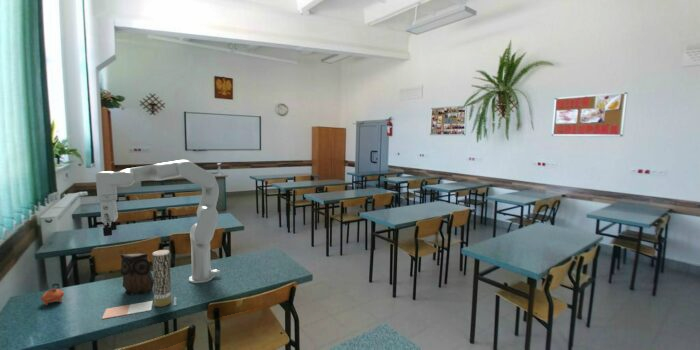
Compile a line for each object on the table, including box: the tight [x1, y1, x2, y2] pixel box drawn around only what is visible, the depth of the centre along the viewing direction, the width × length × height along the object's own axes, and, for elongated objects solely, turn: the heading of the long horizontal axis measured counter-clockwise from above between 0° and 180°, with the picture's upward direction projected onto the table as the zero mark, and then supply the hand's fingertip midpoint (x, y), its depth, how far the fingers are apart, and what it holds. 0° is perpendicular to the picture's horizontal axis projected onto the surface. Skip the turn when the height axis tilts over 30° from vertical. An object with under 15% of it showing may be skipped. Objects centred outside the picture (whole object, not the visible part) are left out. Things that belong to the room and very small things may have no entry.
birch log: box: [151, 249, 172, 308], centre depth 153 cm, size 7×7×25 cm
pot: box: [40, 288, 65, 306], centre depth 152 cm, size 8×8×7 cm
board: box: [101, 296, 177, 320], centre depth 150 cm, size 28×9×1 cm, turn 117°
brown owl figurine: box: [120, 253, 154, 296], centre depth 164 cm, size 13×13×20 cm
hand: (110, 232), depth 157 cm, fingers open, 9 cm apart
